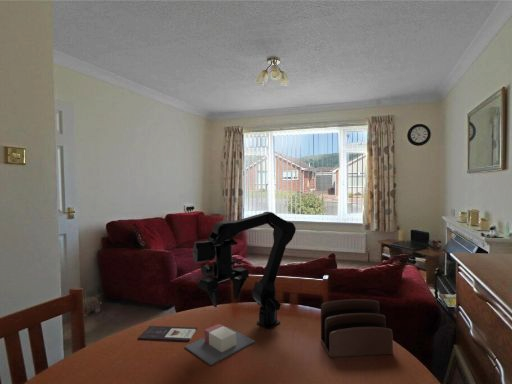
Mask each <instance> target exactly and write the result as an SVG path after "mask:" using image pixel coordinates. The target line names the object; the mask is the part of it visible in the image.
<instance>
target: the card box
mask: <svg viewBox="0 0 512 384" xmlns="http://www.w3.org/2000/svg"><path fill="white" fill-rule="evenodd" d="M204 337H205V342H206V343H207V344H209V345H211V346H212V347H214V348H216V349H217V350H219V351H220V352H224V351H225V350H227V349H229V348H231V347H233V346H235V345H236V332H234V331H232V330H230V329H228V328H227V327H226V326H224V325H222V324H221V323H217V324H215V325H213V326H211V327H207V328H206V329H204Z"/></svg>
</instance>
